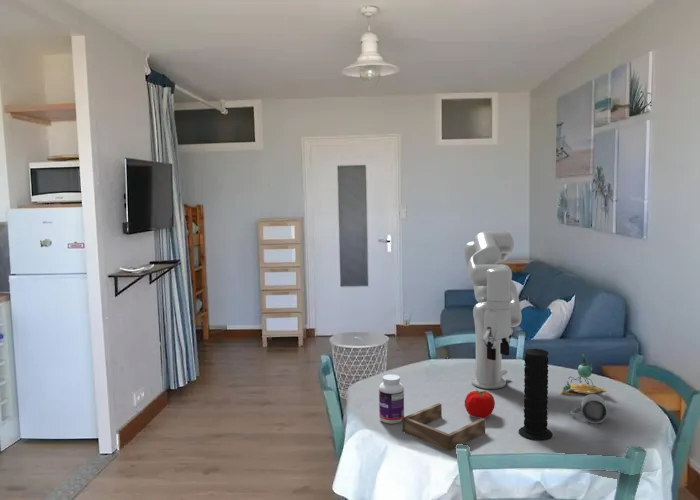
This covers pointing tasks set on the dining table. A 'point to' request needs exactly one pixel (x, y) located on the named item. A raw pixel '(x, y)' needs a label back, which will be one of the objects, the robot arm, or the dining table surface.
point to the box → (446, 441)
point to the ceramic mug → (591, 409)
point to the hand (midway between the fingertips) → (498, 356)
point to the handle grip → (536, 396)
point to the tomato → (479, 404)
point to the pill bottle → (391, 399)
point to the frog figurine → (584, 372)
